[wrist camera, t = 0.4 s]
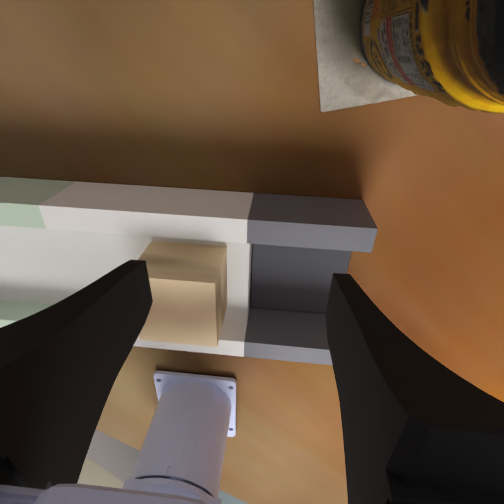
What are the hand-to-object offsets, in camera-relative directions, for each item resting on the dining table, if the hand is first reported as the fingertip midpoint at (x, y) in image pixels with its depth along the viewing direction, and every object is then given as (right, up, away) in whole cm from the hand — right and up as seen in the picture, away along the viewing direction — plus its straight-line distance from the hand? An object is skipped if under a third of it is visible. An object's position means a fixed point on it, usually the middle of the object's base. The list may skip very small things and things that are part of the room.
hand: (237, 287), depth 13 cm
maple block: (-4, 0, +10) cm, 11 cm away
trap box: (-9, +1, +12) cm, 15 cm away
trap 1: (+4, 0, +11) cm, 12 cm away
